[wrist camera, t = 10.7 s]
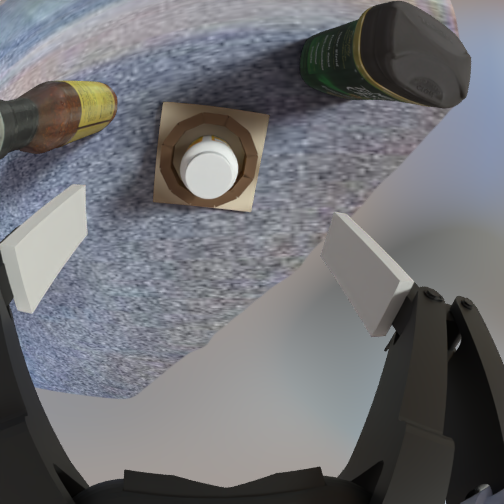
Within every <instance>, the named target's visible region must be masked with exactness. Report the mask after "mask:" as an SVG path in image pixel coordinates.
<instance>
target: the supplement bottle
mask: <svg viewBox="0 0 504 504" xmlns="http://www.w3.org/2000/svg"><path fill="white" fill-rule="evenodd" d="M237 174H238V163H237V159H236V157H235V155H234V153H233V151H232V149H231V147H230V145H229V144H228V143H227V142H226V141H225V140H224V139H222V138H220V137H218V136H215V135H205V136H201V137H199V138H197V139H196V140H194V141H193V142H192V143H191V144H190V146H189V147H188V149H187V151H186V152H185V154H184V156H183V158H182V161H181V165H180V175H181V178H182V181H183V183H184V184H185V186H186V187H187V188H188V189H189V190H190V191H191V192H192V193H193V194H194V195H196V196H197V197H200V198H203V199H214V198H217V197H219V196H221V195H223V194H224V193H225V192H226V191H228V190H229V189H230V188H231V187H232V186H233V184H234V182H235V180H236V178H237Z"/></svg>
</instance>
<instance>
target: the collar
mask: <svg viewBox="0 0 504 504" xmlns="http://www.w3.org/2000/svg"><path fill="white" fill-rule="evenodd" d="M269 116H270V115H266V114H261V113H255V112H249V111H243V110H237V109H230V108H223V107H215V106H206V105H197V104H187V103H175V102H163V108H162V115H161V122H160V130H159V138H158V147H157V157H156V167H155V180H154V194H153V202H158V203H170V204H180V205H191V206H201V207H210V208H220V209H229V210H238V211H246V212H251V209H252V204H253V199H254V193H255V188H256V183H257V178H258V172H259V167H260V162H261V157H262V152H263V146H264V141H265V136H266V131H267V126H268V121H269ZM205 135H215V136H218V137H220V138H222V139H224V140H225V141H226V142H227V143H228V144H229V145H230V147H231V149H232V151H233V153H234V155H235V157H236V159H237V163H238V174H237V178H236V180H235V182H234V184H233V186H232V187H231V188H230V189H229V190H228V191H226V192H225V193H224V194H223V195H221V196H219V197H217V198H214V199H203V198H200V197H197V196H196V195H194V194H193V193H192V192H191V191H190V190H189V189H188V188H187V187H186V186H185V184H184V183H183V181H182V178H181V175H180V165H181V161H182V158H183V156H184V154H185V152H186V151H187V149H188V147H189V146H190V144H191V143H192V142H193V141H194V140H196V139H197V138H199V137H201V136H205Z"/></svg>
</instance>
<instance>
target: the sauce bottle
mask: <svg viewBox="0 0 504 504" xmlns="http://www.w3.org/2000/svg"><path fill="white" fill-rule="evenodd" d="M116 112H117V96H116V95H115V93H114V92H113V90H112V89H111V88H110V87H109V86H108V85H106V84H102V83H99V82H91V81H48V82H45V83H42V84H39V85H37V86H36V87H34V88H33V89H31V90H29V91H28V92H26V93H25V94H23V95H22V96H20V97H19V98H17V99H15V100H9V101H4V100H0V159H2V158H4V157H5V156H6V155H7V153H9V152H11V151H14V150H20V151H23V152H29V153H34V154H40V153H45V152H47V151H50V150H52V149H54V148H59V147H61V146H64V145H66V144H68V143H71V142H73V141H76V140H78V139H81V138H83V137H86V136H88V135H91V134H94V133H96V132H99V131H101V130H102V129H103V128H105V127H106V126H107V125H108V124H109V123H110V122H111V121H112V120H113V118H114V117H115V114H116Z"/></svg>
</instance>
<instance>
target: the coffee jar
mask: <svg viewBox="0 0 504 504" xmlns="http://www.w3.org/2000/svg"><path fill="white" fill-rule="evenodd" d="M300 73H301V76H302V78H303V80H304V82H305V83H306V84H307V85H309V86H310V87H312V88H314V89H316V90H318V91H321V92H324V93H326V94H329V95H333V96H336V97H340V98H345V99H351V100H389V101H398V102H406V103H411V104H417V105H422V106H428V107H438V108H451V107H454V106H456V105H458V104H459V103H460V102H461V101H462V100H463V99H465V98H466V96H467V92H468V88H469V82H470V74H471V57H470V55H469V54H468V53H467V50H466V49H465V47H464V45H463V44H462V42H461V41H460V40H459V38H458V37H457V36H456V35H455V34H454V33H453V32H452V31H451V30H450V29H448V28H447V27H446V26H445V25H443V24H442V23H441V22H439V21H438V20H436V19H435V18H434V17H432V16H431V15H429V14H428V13H426V12H424V11H423V10H421V9H419V8H417V7H415V6H413V5H411V4H409V3H407V2H403V1H392V2H388V3H383V4H379V5H376V6H373V7H371V8H369V9H367V10H366V11H365V12H364V13H363V14H362V15H361V16H360V18H359V19H358V20H355V21H353V22H350V23H347V24H344V25H341V26H338V27H336V28H333V29H329V30H326V31H323V32H320V33H318V34H316V35H313V36H311V37H310V38H308V40H307V41H306V42H305V44H304V46H303V49H302V53H301V58H300Z"/></svg>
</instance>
